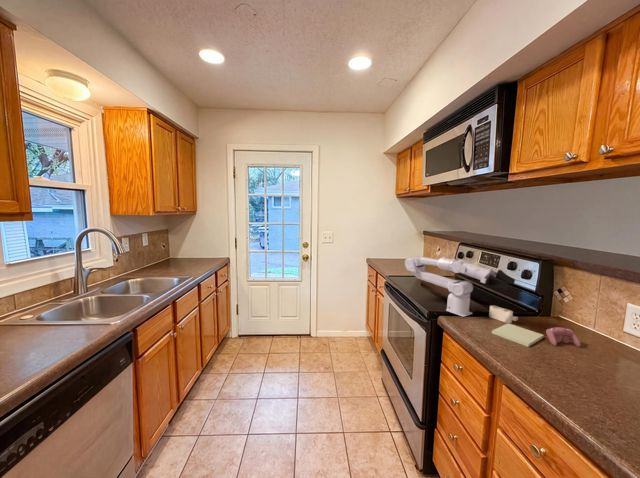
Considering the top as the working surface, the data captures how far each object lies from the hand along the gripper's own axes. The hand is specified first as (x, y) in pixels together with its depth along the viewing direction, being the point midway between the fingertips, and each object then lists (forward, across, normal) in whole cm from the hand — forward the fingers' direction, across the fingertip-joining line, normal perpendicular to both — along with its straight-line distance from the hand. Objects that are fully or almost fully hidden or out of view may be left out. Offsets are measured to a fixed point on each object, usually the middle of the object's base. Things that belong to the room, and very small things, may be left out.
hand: (510, 284), depth 119 cm
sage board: (+9, -7, +18) cm, 21 cm away
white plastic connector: (-2, +6, +21) cm, 22 cm away
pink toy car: (+21, 0, +17) cm, 27 cm away
